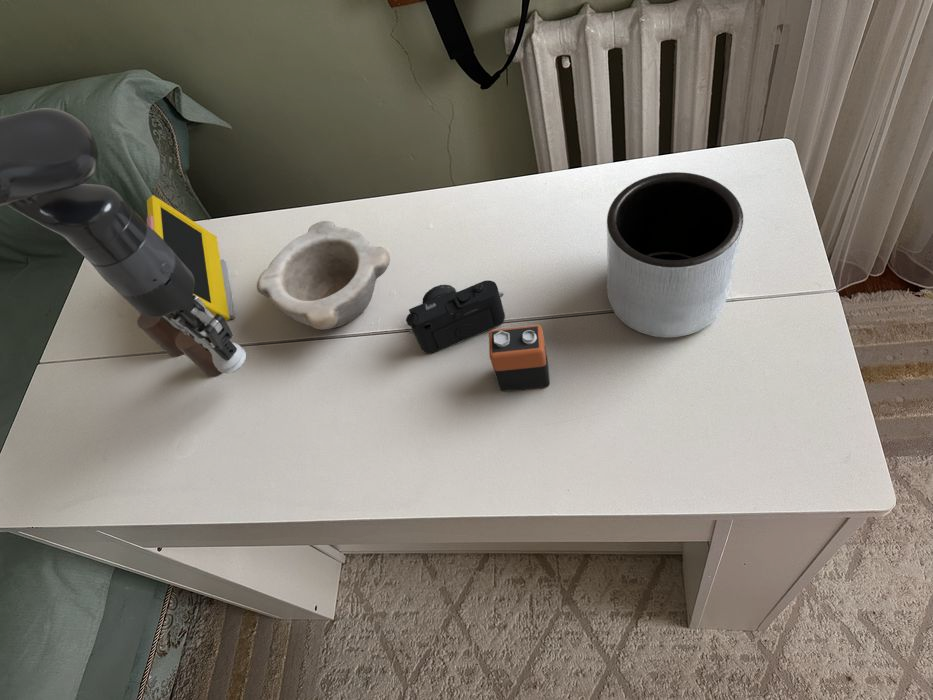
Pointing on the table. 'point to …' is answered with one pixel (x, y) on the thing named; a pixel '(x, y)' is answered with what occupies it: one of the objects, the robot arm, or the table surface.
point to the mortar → (324, 276)
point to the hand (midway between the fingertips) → (221, 349)
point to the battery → (519, 357)
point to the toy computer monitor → (194, 255)
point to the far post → (161, 333)
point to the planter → (671, 252)
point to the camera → (455, 315)
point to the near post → (197, 354)
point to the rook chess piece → (222, 364)
